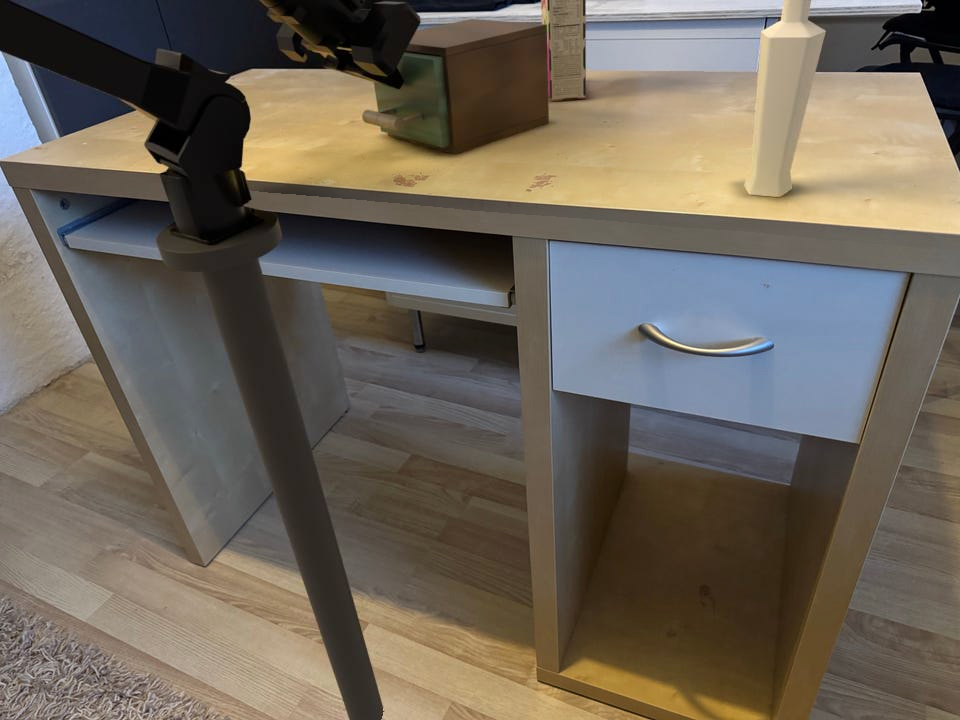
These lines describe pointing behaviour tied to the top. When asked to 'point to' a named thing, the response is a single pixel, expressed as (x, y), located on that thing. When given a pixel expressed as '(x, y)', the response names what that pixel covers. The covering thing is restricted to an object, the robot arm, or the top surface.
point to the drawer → (414, 102)
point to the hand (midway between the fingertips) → (400, 85)
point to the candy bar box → (565, 48)
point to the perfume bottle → (782, 96)
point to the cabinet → (489, 78)
